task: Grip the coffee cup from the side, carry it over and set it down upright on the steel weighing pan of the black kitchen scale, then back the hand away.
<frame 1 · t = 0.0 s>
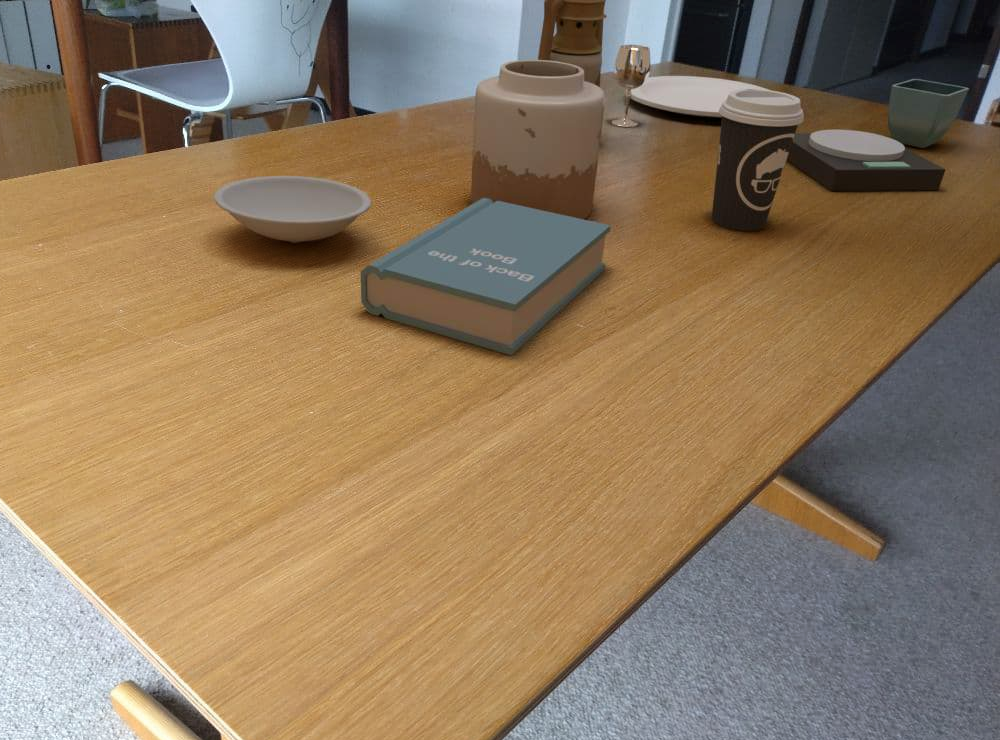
wineglass: (624, 124, 147), on the table
plate: (701, 107, 159), on the table
lantern: (563, 143, 136), on the table
dish: (295, 242, 99), on the table
flower pot: (912, 144, 143), on the table
book: (490, 290, 89), on the table
vase: (530, 208, 111), on the table
scale: (849, 168, 130), on the table
coffee cup: (737, 223, 109), on the table
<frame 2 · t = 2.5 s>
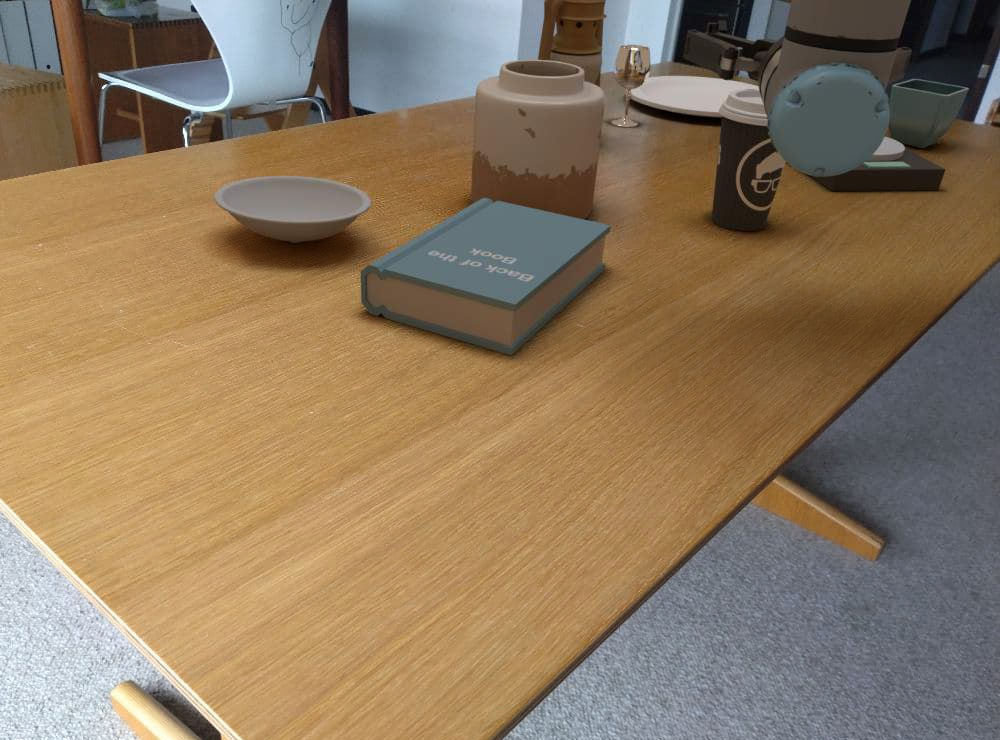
hand: (787, 40, 89), 23 cm above the table, tool horizontal, fingers open, 13 cm apart
nothing on the table moved.
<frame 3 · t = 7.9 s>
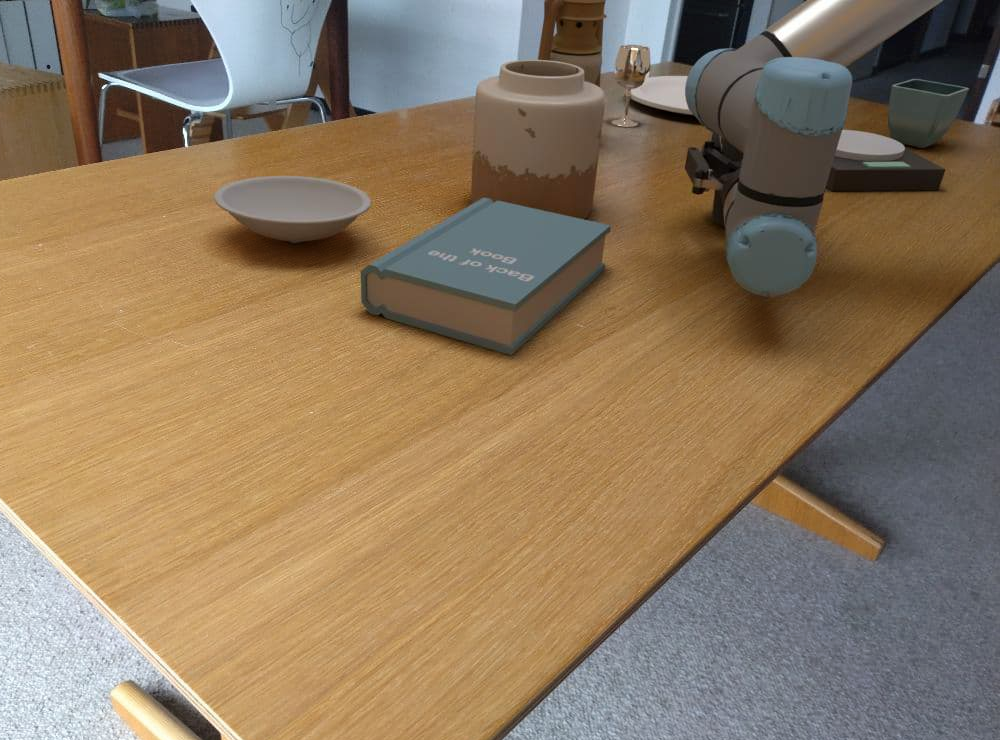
hand: (749, 146, 108), 8 cm above the table, tool horizontal, fingers closed on coffee cup, 8 cm apart
coffee cup: (737, 222, 109), on the table, touching gripper
everything else where it was.
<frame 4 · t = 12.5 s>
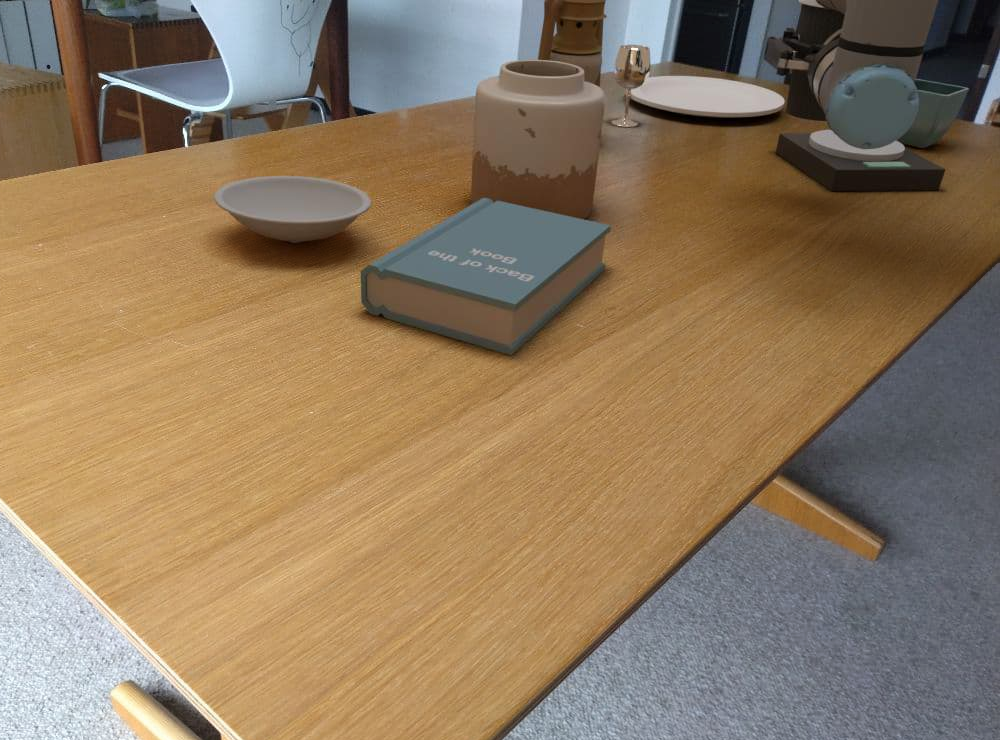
hand: (822, 41, 112), 19 cm above the table, tool horizontal, fingers closed on coffee cup, 8 cm apart
coffee cup: (811, 116, 112), point 11 cm above the table, touching gripper
everything else where it was.
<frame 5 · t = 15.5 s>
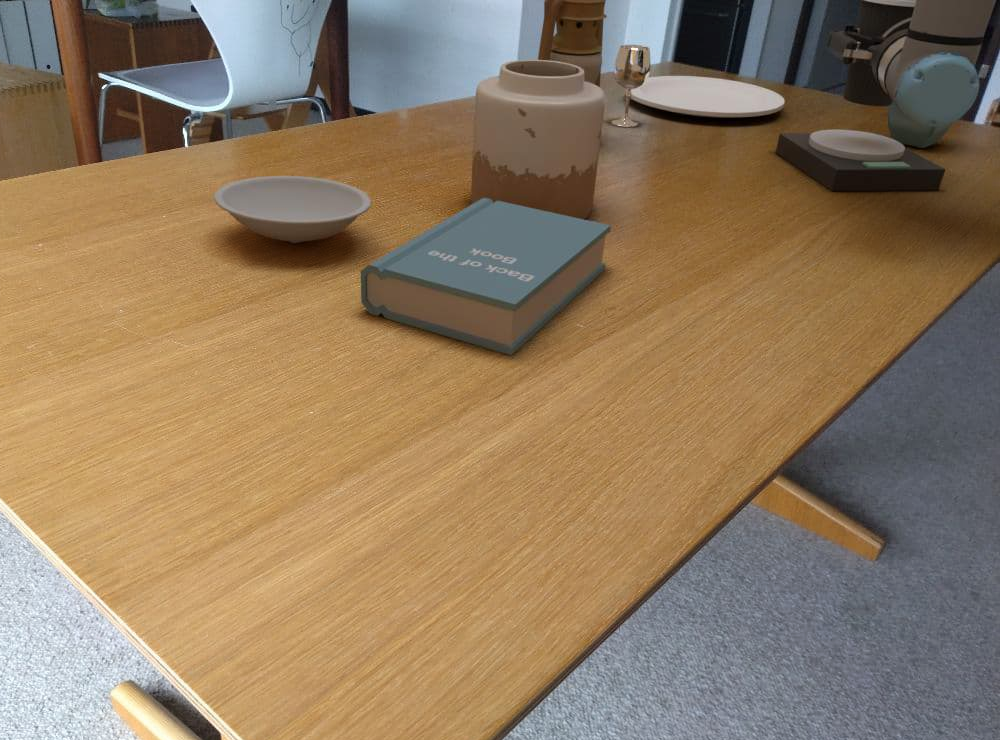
hand: (877, 35, 124), 18 cm above the table, tool horizontal, fingers closed on coffee cup, 8 cm apart
coffee cup: (866, 102, 124), point 10 cm above the table, touching gripper
everything else where it was.
when the fingers open (12 cm above the table, at t = 17.6 s): coffee cup stays where it is, resting on scale.
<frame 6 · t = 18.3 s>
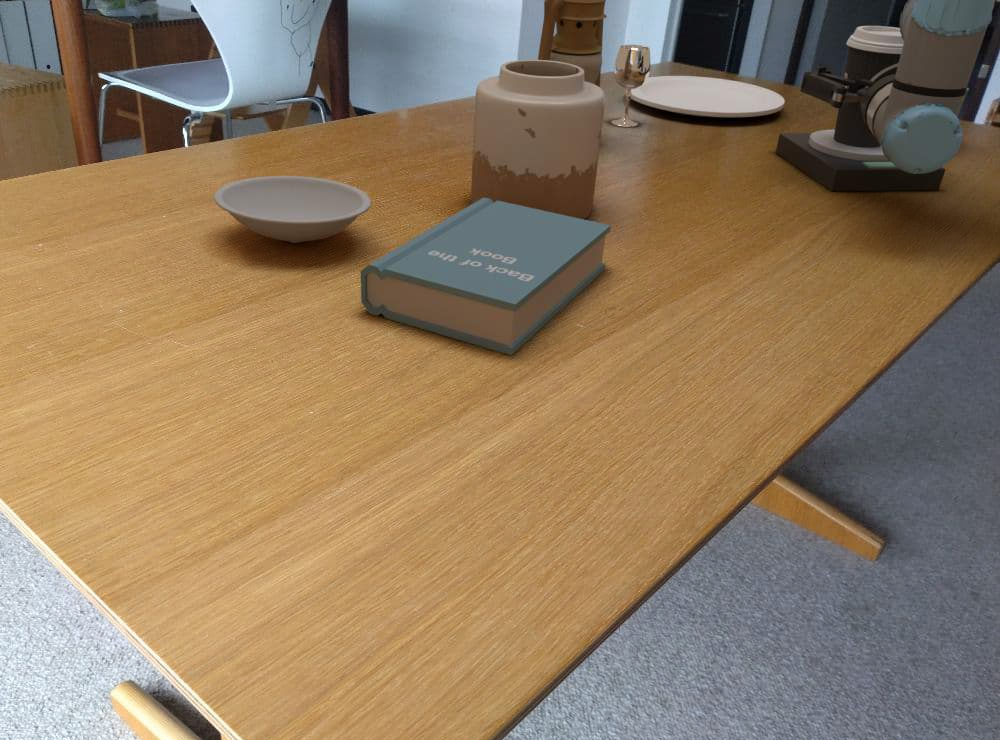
hand: (869, 76, 126), 12 cm above the table, tool horizontal, fingers open, 13 cm apart
coffee cup: (856, 142, 128), point 4 cm above the table, touching scale
everything else where it was.
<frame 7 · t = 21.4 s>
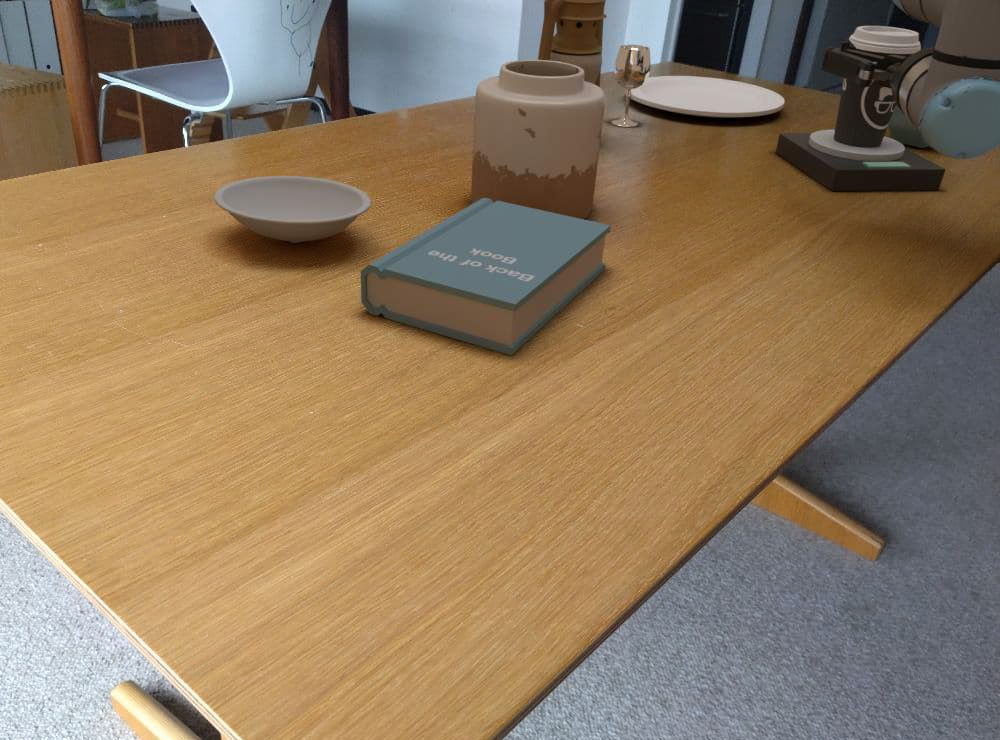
hand: (898, 53, 112), 18 cm above the table, tool horizontal, fingers open, 13 cm apart
nothing on the table moved.
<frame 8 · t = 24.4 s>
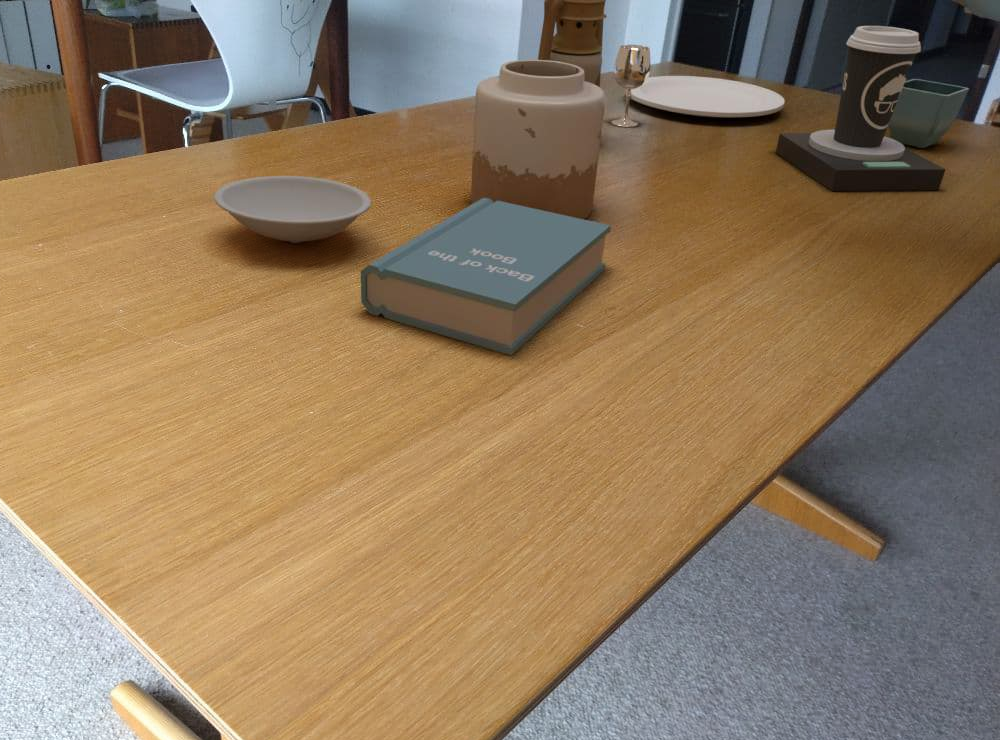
nothing on the table moved.
at the end: coffee cup inside the target area on the scale (0.0 cm from its centre), point 3.8 cm above the scale's base; coffee cup tilted 0°; the gripper is holding nothing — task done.
